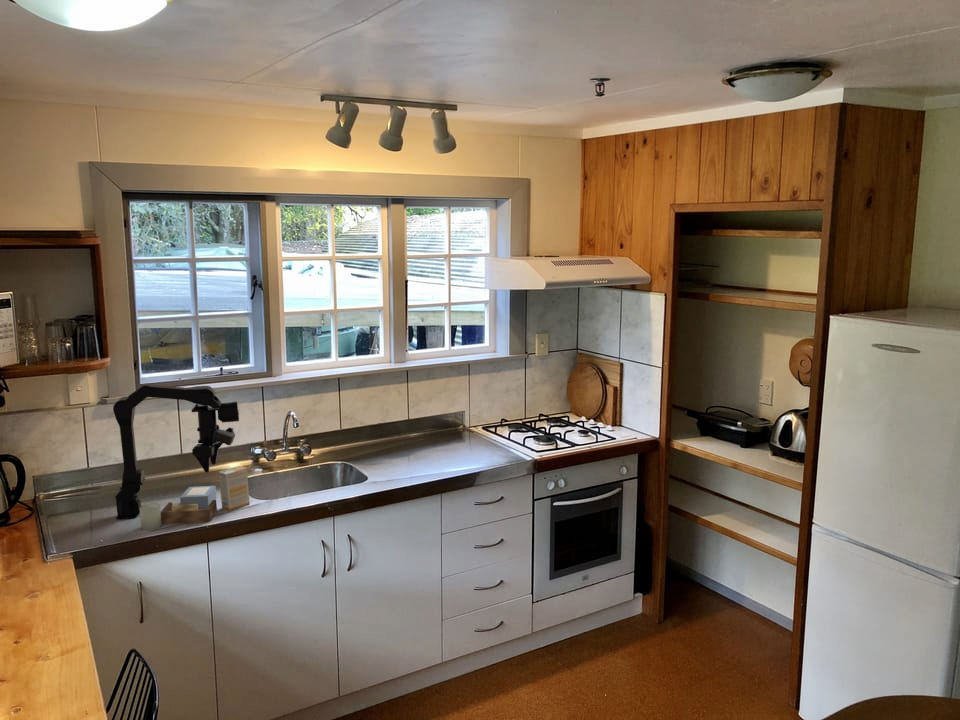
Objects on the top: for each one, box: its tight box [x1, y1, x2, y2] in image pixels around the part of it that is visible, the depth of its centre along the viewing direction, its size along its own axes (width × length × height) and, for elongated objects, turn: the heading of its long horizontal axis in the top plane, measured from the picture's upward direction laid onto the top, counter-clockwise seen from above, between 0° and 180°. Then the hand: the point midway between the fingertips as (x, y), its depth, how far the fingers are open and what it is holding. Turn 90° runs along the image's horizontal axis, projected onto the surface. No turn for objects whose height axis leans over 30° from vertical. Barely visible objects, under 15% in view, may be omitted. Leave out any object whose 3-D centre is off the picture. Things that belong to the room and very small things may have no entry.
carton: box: [179, 485, 217, 509], centre depth 262 cm, size 9×11×5 cm
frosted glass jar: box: [139, 502, 163, 531], centre depth 242 cm, size 6×6×7 cm
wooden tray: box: [161, 499, 218, 525], centre depth 249 cm, size 15×10×6 cm, turn 97°
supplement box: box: [218, 465, 251, 511], centre depth 259 cm, size 8×5×13 cm, turn 141°
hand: (210, 468), depth 258 cm, fingers open, 9 cm apart
